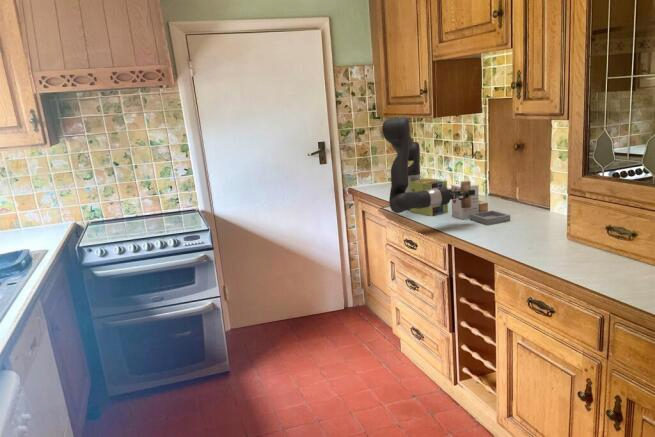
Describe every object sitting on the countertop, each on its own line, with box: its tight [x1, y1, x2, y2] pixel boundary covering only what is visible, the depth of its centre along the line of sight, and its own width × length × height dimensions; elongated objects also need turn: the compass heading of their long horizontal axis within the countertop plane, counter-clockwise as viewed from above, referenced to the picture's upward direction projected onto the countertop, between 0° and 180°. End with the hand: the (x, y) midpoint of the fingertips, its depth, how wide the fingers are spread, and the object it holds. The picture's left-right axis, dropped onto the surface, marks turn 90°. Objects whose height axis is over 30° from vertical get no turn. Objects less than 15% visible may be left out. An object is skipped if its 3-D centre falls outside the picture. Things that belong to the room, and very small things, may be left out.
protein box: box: [409, 177, 449, 217], centre depth 249 cm, size 10×15×16 cm
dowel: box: [460, 180, 471, 208], centre depth 220 cm, size 4×4×11 cm
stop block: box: [479, 200, 489, 213], centre depth 238 cm, size 10×4×6 cm, turn 19°
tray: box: [469, 209, 511, 226], centre depth 226 cm, size 12×12×3 cm
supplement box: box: [450, 182, 480, 221], centre depth 235 cm, size 9×9×15 cm
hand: (471, 191), depth 220 cm, fingers closed on dowel, 4 cm apart
